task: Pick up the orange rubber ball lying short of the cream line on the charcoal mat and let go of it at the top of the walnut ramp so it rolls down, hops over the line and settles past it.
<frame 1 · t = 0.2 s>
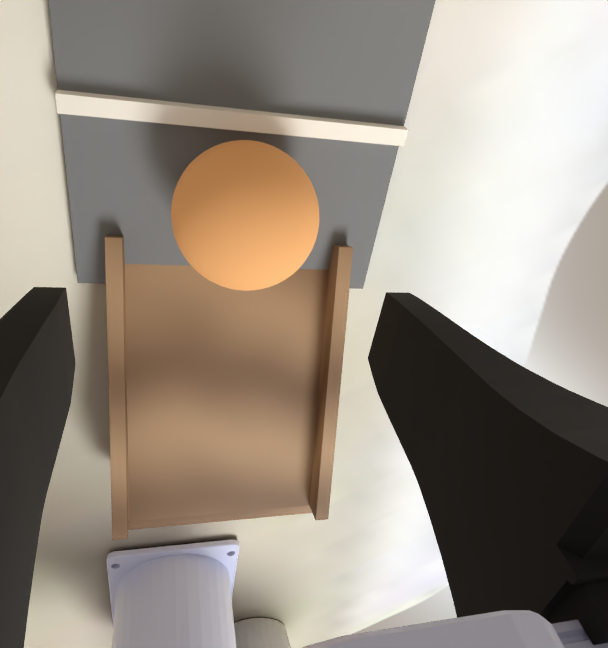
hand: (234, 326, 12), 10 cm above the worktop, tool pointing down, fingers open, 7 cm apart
coffee cup: (249, 632, 43), on the worktop
ball: (246, 217, 18), point 3 cm above the worktop, touching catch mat
ramp: (222, 353, 25), on the worktop
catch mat: (242, 119, 19), on the worktop
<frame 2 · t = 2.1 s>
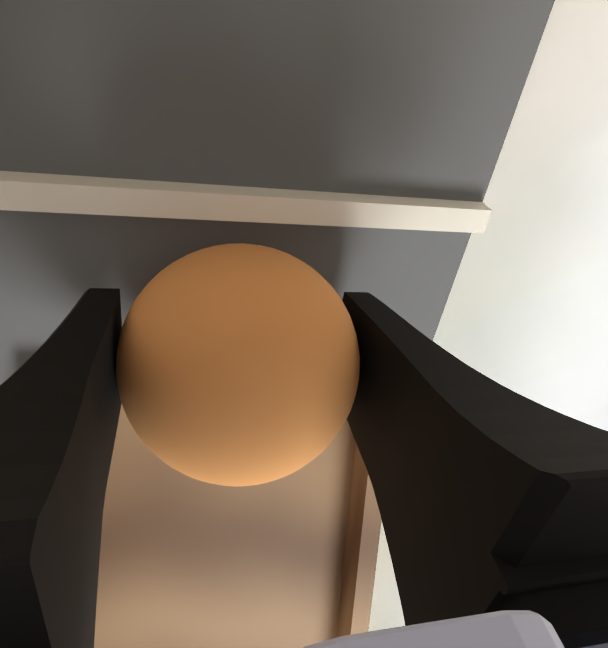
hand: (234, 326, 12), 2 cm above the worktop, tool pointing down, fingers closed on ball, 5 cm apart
ball: (241, 362, 11), point 3 cm above the worktop, touching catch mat, gripper
ramp: (211, 494, 18), on the worktop
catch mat: (235, 198, 12), on the worktop
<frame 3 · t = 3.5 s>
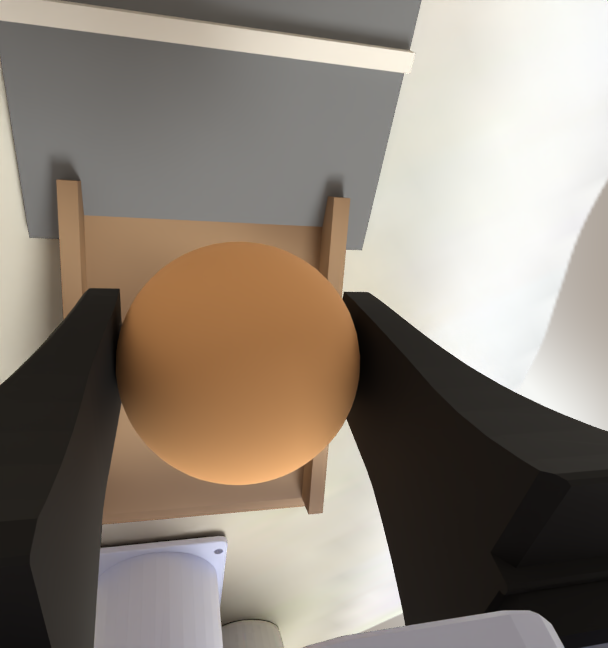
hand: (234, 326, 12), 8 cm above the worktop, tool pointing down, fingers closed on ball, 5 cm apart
coffee cup: (241, 635, 40), on the worktop
ball: (241, 361, 11), point 10 cm above the worktop, touching gripper
ramp: (203, 325, 22), on the worktop
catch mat: (218, 38, 16), on the worktop
when the fingers open (7 cm above the worktop, at t = 5.0 s): ball drops 5 cm and tips over, resting on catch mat.
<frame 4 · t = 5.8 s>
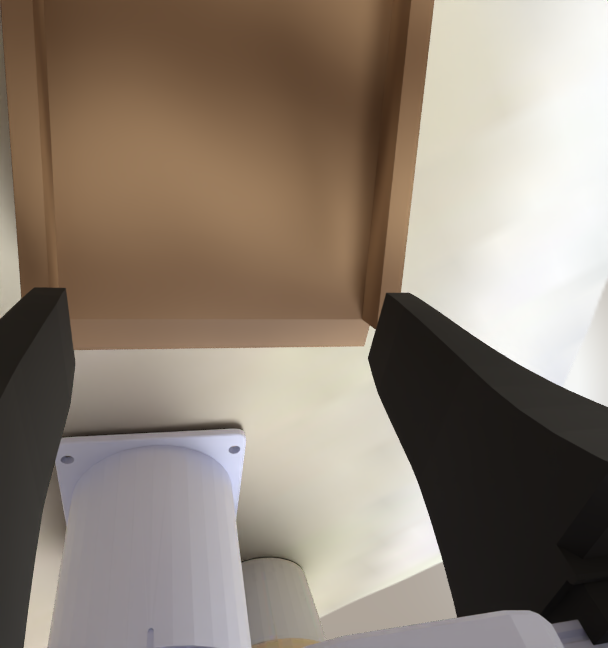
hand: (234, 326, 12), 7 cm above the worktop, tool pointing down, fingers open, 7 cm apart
coffee cup: (257, 580, 33), on the worktop
ramp: (221, 55, 15), on the worktop
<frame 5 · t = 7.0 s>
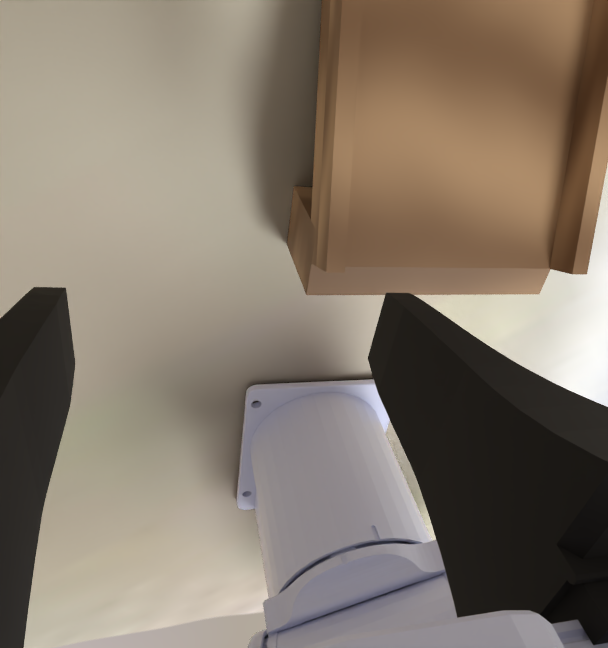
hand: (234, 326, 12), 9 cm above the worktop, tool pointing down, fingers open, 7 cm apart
ramp: (441, 57, 19), on the worktop
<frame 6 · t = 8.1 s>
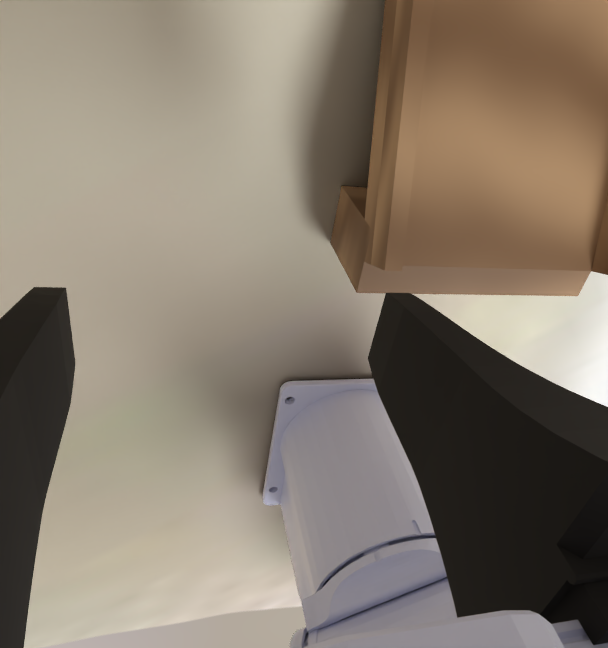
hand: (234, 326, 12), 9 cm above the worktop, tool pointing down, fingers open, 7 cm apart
ramp: (492, 62, 19), on the worktop
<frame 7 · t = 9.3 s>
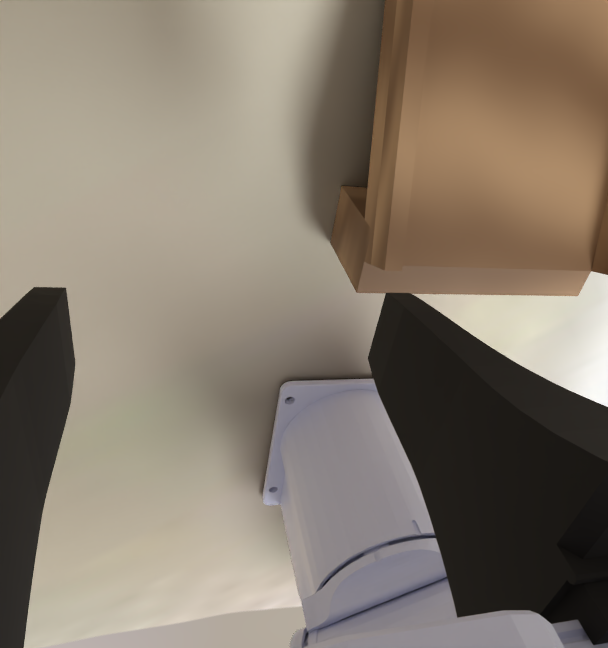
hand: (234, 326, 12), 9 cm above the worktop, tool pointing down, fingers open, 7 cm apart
ramp: (492, 62, 19), on the worktop
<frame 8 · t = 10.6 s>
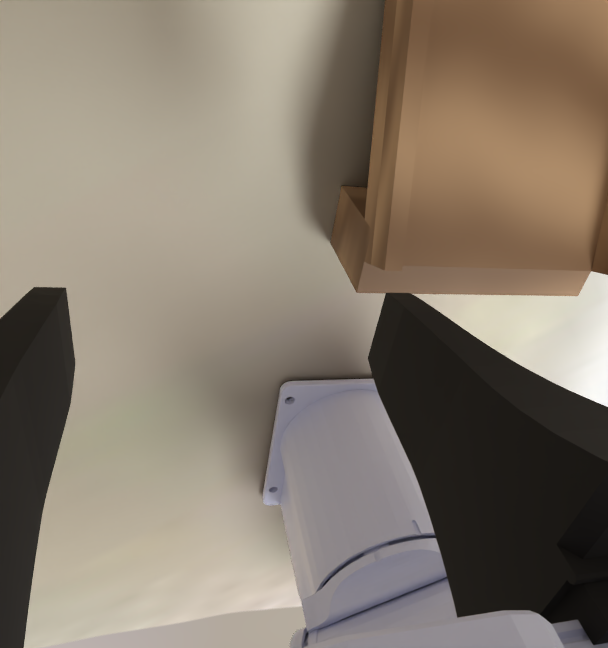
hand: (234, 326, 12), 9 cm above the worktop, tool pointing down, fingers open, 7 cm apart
ramp: (492, 62, 19), on the worktop
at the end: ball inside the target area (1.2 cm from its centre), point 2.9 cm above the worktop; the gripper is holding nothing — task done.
